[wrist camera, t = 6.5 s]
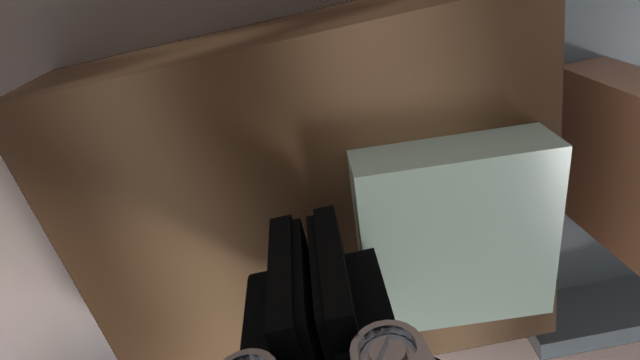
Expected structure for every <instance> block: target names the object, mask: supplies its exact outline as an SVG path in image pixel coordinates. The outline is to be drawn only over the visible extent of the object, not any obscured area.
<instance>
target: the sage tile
mask: <svg viewBox="0 0 640 360" xmlns="http://www.w3.org/2000/svg"><path fill="white" fill-rule="evenodd" d="M346 151H347V160H348V168H349V176H350V185H351V193H352V201H353V210H354V218H355V227H356V235H357V243H358V251H360V250H365V249H369V248H374V250H375V253H376V257H377V260H378V263H379V267H380V270H381V273H382V277H383V280H384V284H385V287H386V290H387V294H388V297H389V300H390V304H391V307H392V311H393V314H394V317H395V320H399V321H402V322H406V323H408V324H410V325H411V326H413V327H415V328H416V329H417V330H418V332H419V331H426V330H434V329H441V328H448V327H455V326H462V325H469V324H476V323H483V322H490V321H497V320H504V319H511V318H518V317H525V316H532V315H539V314H546V313H553V305H554V297H555V289H556V280H557V272H558V264H559V255H560V247H561V238H562V230H563V222H564V213H565V205H566V197H567V188H568V180H569V171H570V163H571V155H572V145H571V144H569V143H568V142H566V141H565V140H564V139H562V138H561V137H559V136H558V135H557V134H555V133H554V132H552V131H551V130H549V129H548V128H547V127H545V126H544V125H542V124H541V123H540V122H536V123H529V124H523V125H516V126H509V127H502V128H495V129H489V130H482V131H475V132H468V133H461V134H455V135H448V136H441V137H434V138H427V139H421V140H414V141H407V142H400V143H393V144H387V145H380V146H373V147H366V148H359V149H353V150H346Z"/></svg>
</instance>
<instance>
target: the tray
mask: <svg viewBox="0 0 640 360" xmlns="http://www.w3.org/2000/svg"><path fill="white" fill-rule="evenodd" d="M601 56H607V57H610V58H613V59H617V60H620V61H624V62H627V63H630V64H634V65H637V66H640V0H565V34H564V64H568V63H573V62H578V61H582V60H587V59H592V58H597V57H601ZM527 339H528V340H529V342H530V343H531V345H532V347H533V348H534V350H535V352H536V353H537V355H538V357H539V358H540V360H546V359H551V358H556V357H561V356H567V355H572V354H577V353H582V352H587V351H592V350H598V349H603V348H608V347H613V346H618V345H624V344H629V343H634V342H639V341H640V277H639V276H638V275H637V274H636V273H634V272H633V271H632V270H631V269H630V268H628V267H627V266H626V265H625V264H624V263H623V262H621V261H620V260H619V259H618V258H617V257H615V256H614V255H613V254H612V253H611V252H609V251H608V250H607V249H606V248H605V247H604V246H602V245H601V244H600V243H599V242H598V241H596V240H595V239H594V238H593V237H592V236H590V235H589V234H588V233H587V232H586V231H585V230H583V229H582V228H581V227H580V226H579V225H577V224H576V223H575V222H574V221H573V220H571V219H570V218H569V217H568V216H567V215H565V214H564V222H563V230H562V238H561V247H560V255H559V264H558V273H557V307H556V332H552V333H546V334H541V335H536V336H531V337H527Z"/></svg>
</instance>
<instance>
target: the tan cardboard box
mask: <svg viewBox="0 0 640 360" xmlns="http://www.w3.org/2000/svg"><path fill="white" fill-rule="evenodd" d="M564 34H565V0H356V1H352V2H347V3H343V4H339V5H334V6H330V7H326V8H321V9H317V10H313V11H308V12H304V13H299V14H295V15H291V16H286V17H282V18H278V19H273V20H269V21H265V22H260V23H256V24H251V25H247V26H243V27H238V28H234V29H230V30H225V31H221V32H217V33H212V34H208V35H203V36H199V37H195V38H190V39H186V40H182V41H177V42H173V43H169V44H164V45H160V46H156V47H151V48H147V49H142V50H138V51H134V52H129V53H125V54H121V55H116V56H112V57H108V58H103V59H99V60H94V61H90V62H86V63H81V64H77V65H73V66H68V67H64V68H60V69H55V70H52V71H50V72H48V73H46V74H44V75H42V76H40V77H38V78H36V79H34V80H32V81H30V82H29V83H27V84H25V85H23V86H21V87H19V88H17V89H15V90H13V91H11V92H9V93H8V94H6V95H4V96H2V97H0V155H1V156H2V158H3V160H4V162H5V163H6V165H7V167H8V169H9V170H10V172H11V174H12V176H13V177H14V179H15V181H16V183H17V184H18V186H19V188H20V190H21V191H22V193H23V195H24V197H25V198H26V200H27V202H28V204H29V205H30V207H31V209H32V211H33V212H34V214H35V216H36V218H37V219H38V221H39V223H40V224H41V226H42V228H43V230H44V231H45V233H46V235H47V237H48V238H49V240H50V242H51V244H52V245H53V247H54V249H55V251H56V252H57V254H58V256H59V258H60V259H61V261H62V263H63V265H64V266H65V268H66V270H67V272H68V273H69V275H70V277H71V279H72V280H73V282H74V284H75V286H76V287H77V289H78V291H79V293H80V294H81V296H82V298H83V300H84V301H85V303H86V305H87V307H88V308H89V310H90V312H91V314H92V315H93V317H94V319H95V321H96V322H97V324H98V326H99V328H100V329H101V331H102V333H103V335H104V336H105V338H106V340H107V342H108V343H109V345H110V347H111V349H112V350H113V352H114V354H115V355H116V357H117V359H118V360H223V359H225V358H226V357H227V356H229V355H231V354H233V353H235V352H237V351H239V350H240V344H241V335H242V326H243V317H244V308H245V299H246V289H247V280H248V276H249V275H250V274H254V273H258V272H263V271H267V261H268V242H269V223H270V219H272V218H276V217H281V216H285V215H290V214H291V215H292V218H293V219H297V218H300V219H301V222H302V226H303V229H304V233H305V236H306V240H307V244H308V236H307V223H306V216H311V215H313V209H317V208H321V207H326V206H330V205H334V209H335V213H336V217H337V222H338V226H339V230H340V235H341V239H342V243H343V248H344V252H345V254H346V253H351V252H355V251H358V243H357V235H356V227H355V218H354V210H353V201H352V193H351V185H350V176H349V168H348V160H347V151H346V150H353V149H359V148H366V147H373V146H380V145H387V144H393V143H400V142H407V141H414V140H421V139H427V138H434V137H441V136H448V135H455V134H461V133H468V132H475V131H482V130H489V129H495V128H502V127H509V126H516V125H523V124H529V123H536V122H540V123H541V124H542V125H544V126H545V127H547V128H548V129H549V130H551V131H552V132H554V133H555V134H557V135H558V136H559V137H561V136H562V102H563V68H564ZM557 273H558V272H557ZM556 307H557V280H556V289H555V297H554V305H553V313H546V314H539V315H532V316H525V317H518V318H511V319H504V320H497V321H490V322H483V323H476V324H469V325H462V326H455V327H448V328H441V329H434V330H426V331H419V333H420V334H421V335H422V337H423V338H424V340H425V342H426V344H427V345H428V347H429V349H430V351H431V352H432V354H433V356H434V355H439V354H444V353H449V352H454V351H459V350H464V349H469V348H475V347H480V346H485V345H490V344H495V343H500V342H505V341H511V340H516V339H521V338H526V337H531V336H536V335H541V334H546V333H552V332H556Z"/></svg>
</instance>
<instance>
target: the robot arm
mask: <svg viewBox="0 0 640 360" xmlns="http://www.w3.org/2000/svg"><path fill="white" fill-rule="evenodd" d="M306 223H307V236H308V244H307V240H306V236H305V233H304V229H303V226H302V222H301V219H300V218H297V219H293V218H292V215H291V214H290V215H285V216H281V217H276V218H272V219H270V223H269V242H268V261H267V271H263V272H258V273H254V274H250V275H249V276H248V280H247V289H246V299H245V308H244V317H243V326H242V335H241V344H240V350H239V351H237V352H235V353H233V354H231V355H229V356H227V357H226V358H225V359H223V360H440V359H438V358H436V357H434V356H433V354H432V352H431V351H430V349H429V347H428V345H427V344H426V342H425V340H424V338H423V337H422V335H421V334H420V333H419V332H418V330H417V329H416V328H415V327H413V326H411V325H410V324H408V323H406V322H402V321H399V320H395V317H394V314H393V311H392V307H391V304H390V300H389V297H388V294H387V290H386V287H385V284H384V280H383V277H382V273H381V270H380V267H379V263H378V260H377V257H376V253H375V250H374V248H369V249H365V250H360V251H355V252H351V253H346V254H345V252H344V248H343V243H342V239H341V235H340V230H339V226H338V222H337V217H336V213H335V209H334V205H330V206H326V207H321V208H317V209H313V215H311V216H306Z"/></svg>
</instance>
